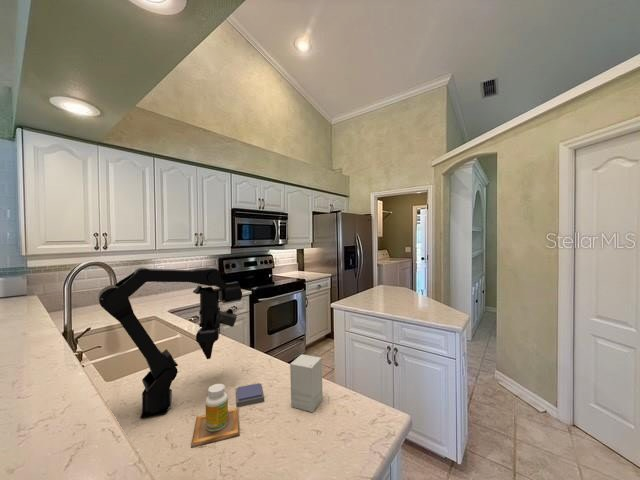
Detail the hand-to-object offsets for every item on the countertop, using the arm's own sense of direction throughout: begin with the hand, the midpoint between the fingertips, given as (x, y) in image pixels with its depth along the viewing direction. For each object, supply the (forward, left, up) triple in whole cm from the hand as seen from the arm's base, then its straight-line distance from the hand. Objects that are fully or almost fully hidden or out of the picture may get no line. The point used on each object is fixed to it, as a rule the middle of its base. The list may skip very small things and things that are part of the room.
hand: (209, 352), depth 85 cm
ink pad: (+12, -9, -12) cm, 19 cm away
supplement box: (+28, -18, -12) cm, 35 cm away
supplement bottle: (+3, -19, -12) cm, 23 cm away
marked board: (+3, -19, -12) cm, 23 cm away
